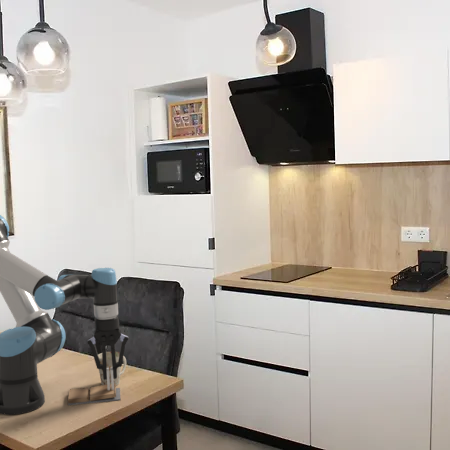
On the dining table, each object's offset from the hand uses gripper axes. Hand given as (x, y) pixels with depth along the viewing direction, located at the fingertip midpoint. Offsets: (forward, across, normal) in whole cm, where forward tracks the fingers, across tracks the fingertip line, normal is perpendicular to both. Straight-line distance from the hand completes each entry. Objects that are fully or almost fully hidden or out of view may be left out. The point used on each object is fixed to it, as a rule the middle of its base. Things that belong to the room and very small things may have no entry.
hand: (110, 388), depth 187 cm
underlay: (+2, -5, 0) cm, 6 cm away
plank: (+2, -2, 0) cm, 3 cm away
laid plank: (+2, -10, 0) cm, 10 cm away
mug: (+3, +1, +12) cm, 13 cm away
